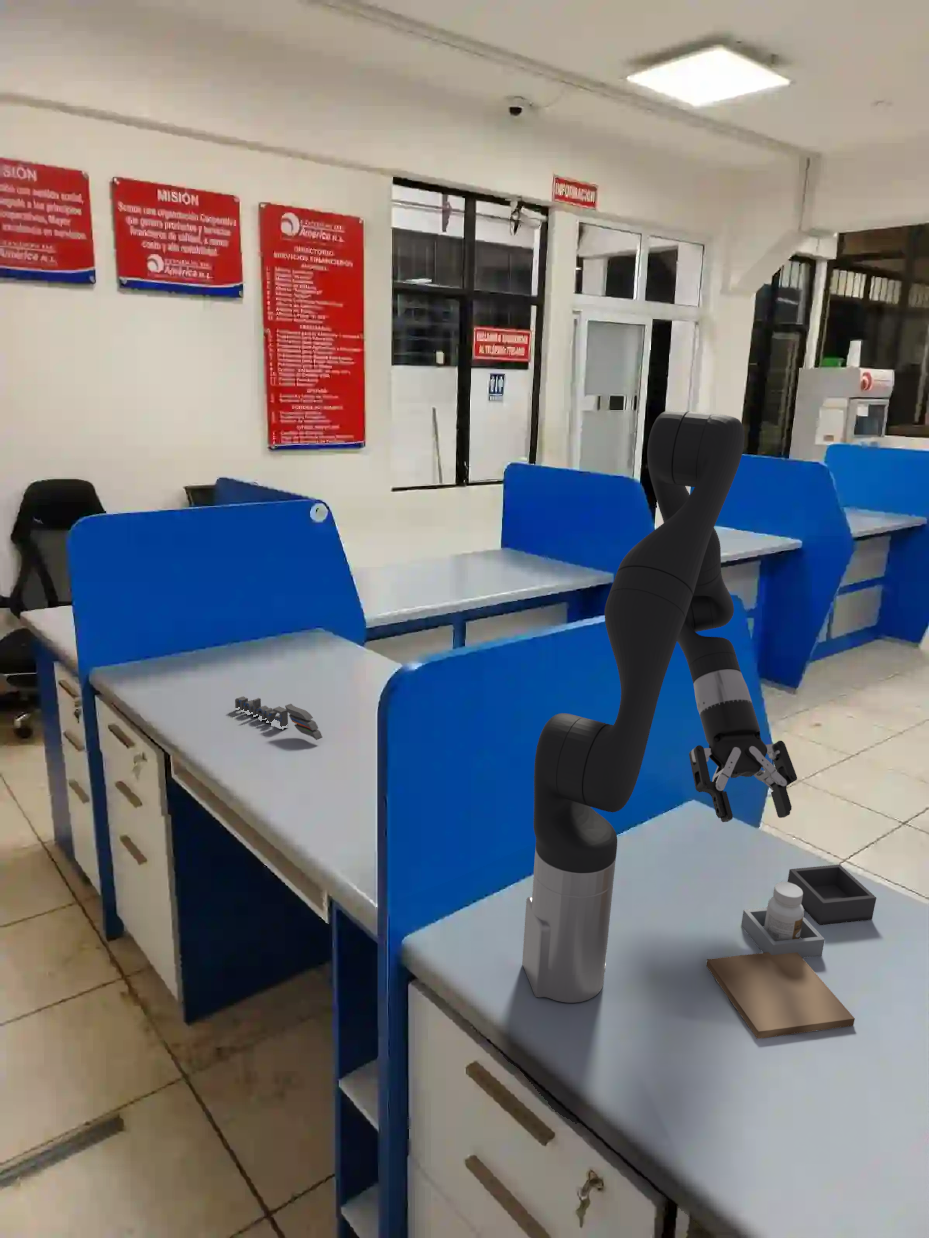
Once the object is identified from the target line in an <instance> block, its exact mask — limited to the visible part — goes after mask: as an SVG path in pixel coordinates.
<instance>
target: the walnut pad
mask: <svg viewBox="0 0 929 1238" xmlns="http://www.w3.org/2000/svg"><path fill="white" fill-rule="evenodd" d="M706 968H707V969H708V970H709V972H710V974H711V975H712V976H713V978H714V979H715V981H716V982H717V983H718V984H719V986H720V988H721V989H722V990H723V992H724V993H725V995H726V996H727V998H728V999H729V1001H730V1002H731V1003H732V1005H733V1006H734V1008H735V1009H736V1011H737V1012H738V1014H739V1015H740V1016H741V1017H742V1019H743V1020H744V1022H745V1023H746V1025H747V1026H748V1028H749V1029H750V1031H751V1032H752V1033H753V1035H754V1036H755V1037H756V1039H757V1040H761V1039H766V1038H772V1037H773V1038H775V1037H780V1036H788V1035H789V1036H790V1035H796V1034H802V1033H810V1032H817V1031H816V1030H819V1031H826V1030H833V1029H838V1028H839V1029H840V1028H847V1027H853V1026H854V1024H855V1020H856V1017H854V1016H853V1014H852V1013H850V1011H849V1009H847V1007H845V1005H844V1004H843V1003H842V1002H841V1001H840V1000H839V998H838V997H837V996H836V995H835V993H833V991H832V990H831V989H830V988H829V987H828V986H827V985H826V983H825V982H824V981H823V980H822V979H821V977H820V976H818V974H817V973H816V972H815V971H814V970H813V968H812V967H811V966H810V965H809V964H808V963H807V961H805V958H802V957H801V956H800V955H799V954H798V952H795V953H787V954H778V955H771V954H770V953H769V952H766V953H763V952H758V953H750V954H743V955H742V954H741V955H734V956H733V955H732V956H724V957H715V958H707V959H706ZM832 1028H833V1029H832Z"/></svg>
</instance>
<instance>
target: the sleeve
mask: <svg viewBox="0 0 929 1238" xmlns="http://www.w3.org/2000/svg"><path fill="white" fill-rule="evenodd" d="M742 912H743V913H742V917H741V924H740V926H741V928H742V929H743V930H744V931H745V933H746V934H747V935H748V936H749V938H750V939H751V940H752V941H753V942H754V943H755V945H756V946H757V947H758V949H759V950H760V951H761V953H766V952H769V953H770V954H771V955H778V954H787V953H795V952H798V954H799V955H800V956H801V957H802V958H803V959H807V958H816V957H822V956H823V952H824V951H823V950H824V946H825V940H826V939H825V938H824V936H822V934H820V932H818V930H817V929H816V928H815V927H814V926H813V925H812V924H811V923H810V921H808V920H807V918H805V917H804V916H803V921H802V927H801V932H800V938H799V939H793V940H784V941H774V940H773V939H772V937H771V936H770V935H769V934H768V933H767V932H766V930H765V929H764V925H765V919H766V912H767V907H759V908H748V909H743V911H742Z"/></svg>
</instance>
